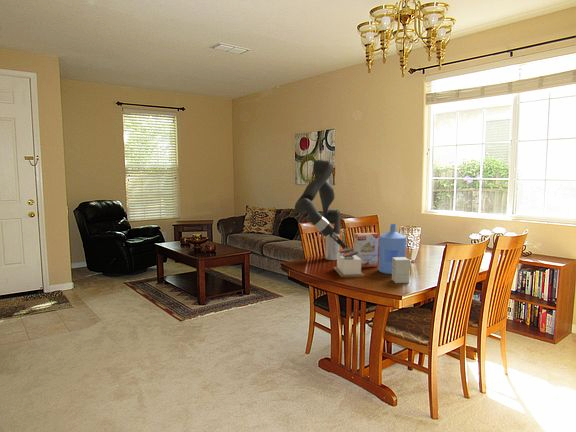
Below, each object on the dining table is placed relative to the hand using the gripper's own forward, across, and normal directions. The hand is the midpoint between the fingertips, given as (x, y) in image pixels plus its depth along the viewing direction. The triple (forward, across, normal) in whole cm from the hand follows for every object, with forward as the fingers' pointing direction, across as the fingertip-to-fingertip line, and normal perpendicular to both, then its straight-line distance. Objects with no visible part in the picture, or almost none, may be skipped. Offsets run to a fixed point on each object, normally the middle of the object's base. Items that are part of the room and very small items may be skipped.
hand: (344, 247), depth 238 cm
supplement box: (+30, -17, -7) cm, 35 cm away
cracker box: (+24, +20, -1) cm, 31 cm away
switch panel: (+14, +6, +9) cm, 17 cm away
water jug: (+32, +5, -10) cm, 34 cm away
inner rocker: (+6, +11, +1) cm, 13 cm away
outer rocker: (+6, 0, +1) cm, 6 cm away
